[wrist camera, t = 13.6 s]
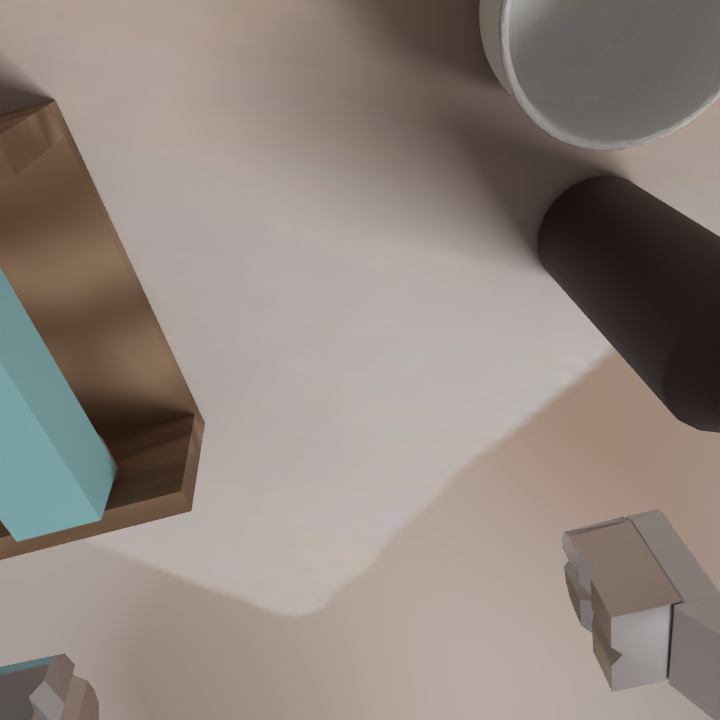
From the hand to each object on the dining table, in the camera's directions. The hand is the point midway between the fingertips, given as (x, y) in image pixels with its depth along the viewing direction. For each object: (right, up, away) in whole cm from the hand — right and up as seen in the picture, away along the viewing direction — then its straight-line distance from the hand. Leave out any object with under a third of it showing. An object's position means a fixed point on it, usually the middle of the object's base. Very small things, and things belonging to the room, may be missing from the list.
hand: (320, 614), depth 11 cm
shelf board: (-17, +4, +22) cm, 28 cm away
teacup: (+10, +23, +21) cm, 33 cm away
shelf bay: (-18, +7, +27) cm, 33 cm away
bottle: (+14, +12, +28) cm, 34 cm away
